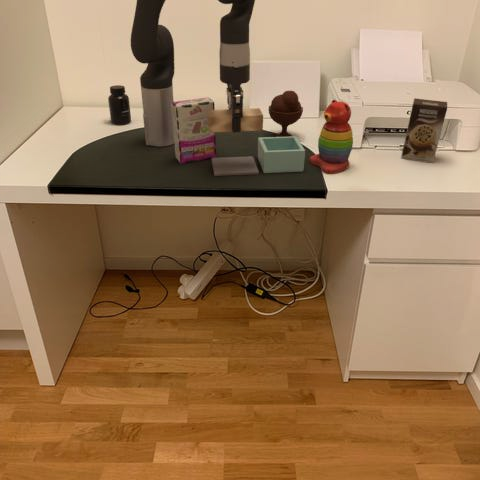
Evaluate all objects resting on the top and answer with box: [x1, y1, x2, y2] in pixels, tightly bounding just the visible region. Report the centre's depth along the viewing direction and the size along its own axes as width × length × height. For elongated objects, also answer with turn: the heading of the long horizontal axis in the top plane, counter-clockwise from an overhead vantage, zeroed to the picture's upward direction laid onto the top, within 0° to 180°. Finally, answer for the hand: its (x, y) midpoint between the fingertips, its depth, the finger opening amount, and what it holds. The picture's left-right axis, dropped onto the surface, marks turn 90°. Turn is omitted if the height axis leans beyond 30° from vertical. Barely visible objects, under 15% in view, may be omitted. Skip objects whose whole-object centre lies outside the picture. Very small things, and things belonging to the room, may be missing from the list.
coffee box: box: [400, 97, 448, 163], centre depth 134 cm, size 9×6×16 cm
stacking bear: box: [308, 99, 354, 175], centre depth 128 cm, size 11×10×18 cm
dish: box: [257, 135, 306, 174], centre depth 131 cm, size 11×11×6 cm
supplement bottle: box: [107, 84, 132, 126], centre depth 158 cm, size 7×7×12 cm
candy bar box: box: [171, 97, 217, 164], centre depth 131 cm, size 11×5×16 cm, turn 115°
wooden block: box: [207, 107, 264, 133], centre depth 124 cm, size 14×6×4 cm, turn 97°
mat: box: [210, 155, 260, 177], centre depth 131 cm, size 12×11×1 cm
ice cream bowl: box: [268, 90, 304, 137], centre depth 147 cm, size 11×11×15 cm
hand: (234, 127), depth 125 cm, fingers closed on wooden block, 6 cm apart
